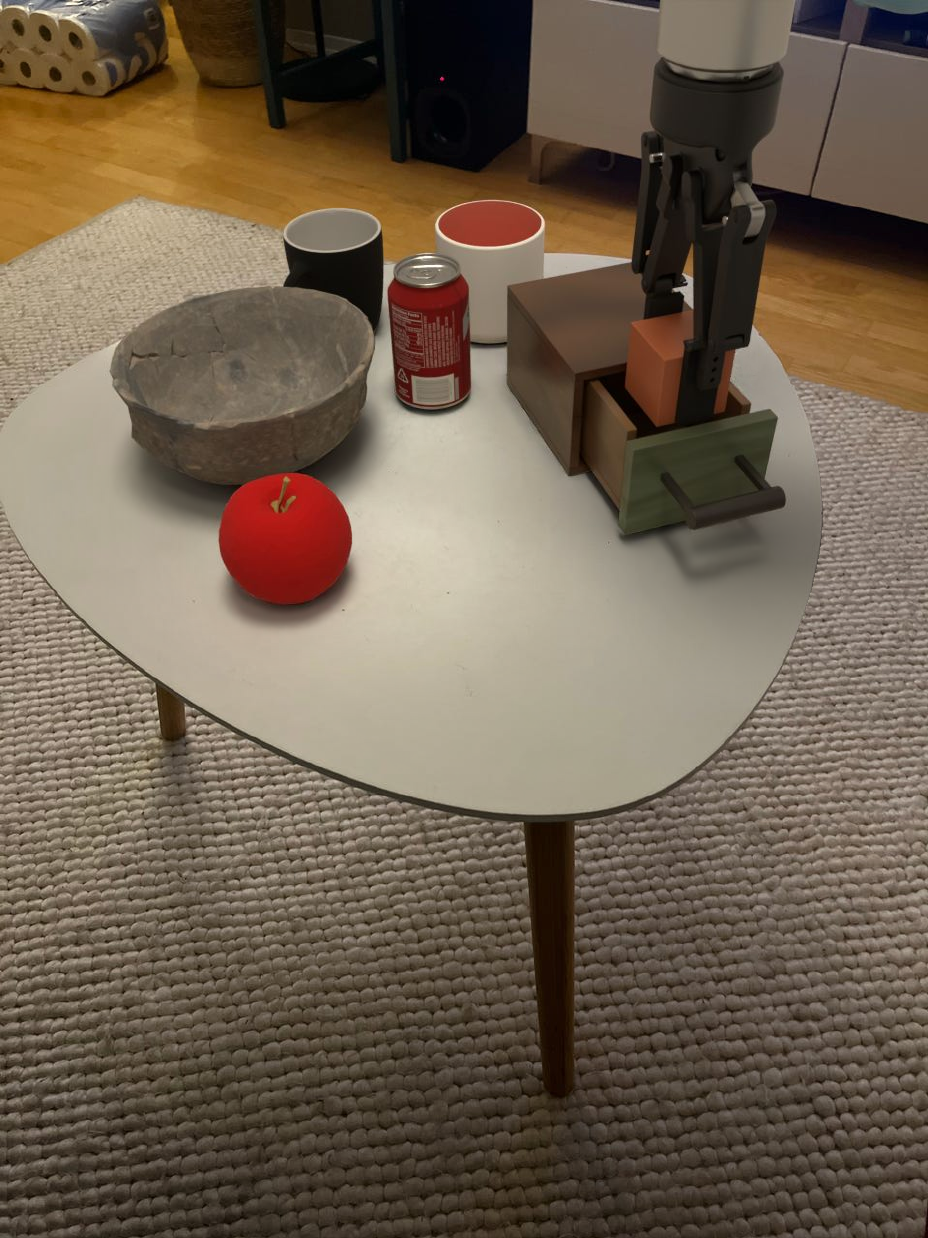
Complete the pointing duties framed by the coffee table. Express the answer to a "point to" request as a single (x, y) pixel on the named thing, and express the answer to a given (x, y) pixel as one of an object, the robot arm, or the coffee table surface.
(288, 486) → the fruit
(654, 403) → the block
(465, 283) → the soda can
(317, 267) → the mug
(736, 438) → the drawer
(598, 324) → the cabinet
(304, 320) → the bowl
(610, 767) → the coffee table surface
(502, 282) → the cup
